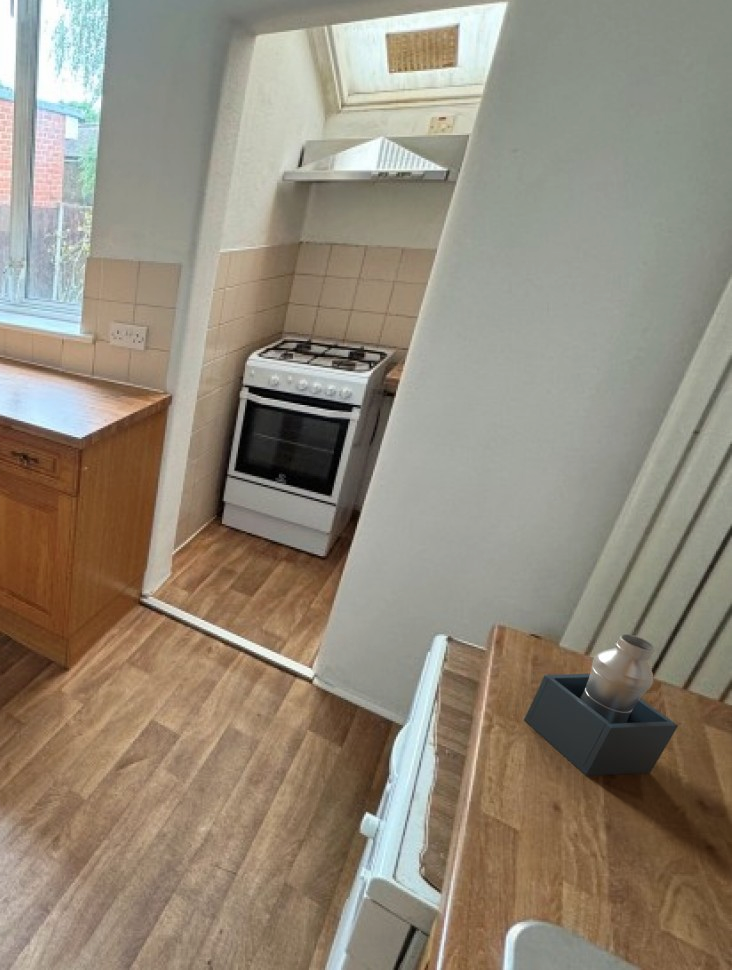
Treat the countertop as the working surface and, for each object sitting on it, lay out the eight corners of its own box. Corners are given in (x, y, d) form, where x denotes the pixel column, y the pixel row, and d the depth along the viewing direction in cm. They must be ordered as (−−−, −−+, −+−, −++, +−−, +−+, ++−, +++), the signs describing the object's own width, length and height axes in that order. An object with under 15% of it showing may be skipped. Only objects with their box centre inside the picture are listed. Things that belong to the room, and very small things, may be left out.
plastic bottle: (580, 757, 93) (633, 655, 86) (548, 722, 99) (595, 625, 92) (626, 762, 92) (684, 660, 85) (591, 727, 99) (642, 629, 91)
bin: (650, 773, 92) (678, 725, 88) (585, 776, 91) (611, 728, 88) (582, 717, 102) (605, 672, 98) (523, 720, 101) (544, 674, 97)
